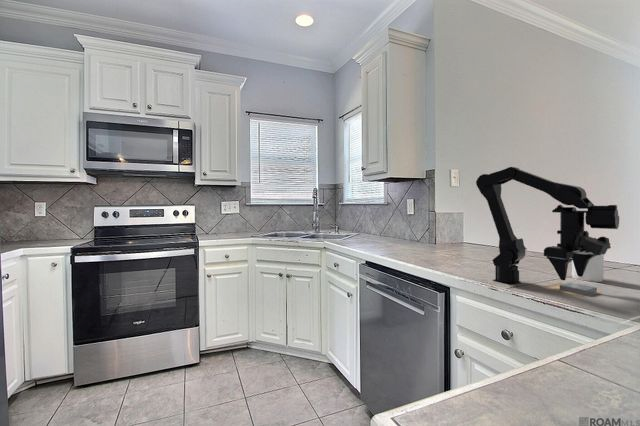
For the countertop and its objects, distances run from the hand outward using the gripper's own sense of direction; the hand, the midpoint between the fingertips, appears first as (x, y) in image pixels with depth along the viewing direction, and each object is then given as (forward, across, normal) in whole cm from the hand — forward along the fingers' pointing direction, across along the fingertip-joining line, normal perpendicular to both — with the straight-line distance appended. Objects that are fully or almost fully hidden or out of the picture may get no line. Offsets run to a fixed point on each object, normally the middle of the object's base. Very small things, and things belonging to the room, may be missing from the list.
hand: (571, 278), depth 97 cm
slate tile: (+4, +6, 0) cm, 7 cm away
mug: (+5, +25, +8) cm, 26 cm away
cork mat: (+5, +4, +2) cm, 6 cm away
